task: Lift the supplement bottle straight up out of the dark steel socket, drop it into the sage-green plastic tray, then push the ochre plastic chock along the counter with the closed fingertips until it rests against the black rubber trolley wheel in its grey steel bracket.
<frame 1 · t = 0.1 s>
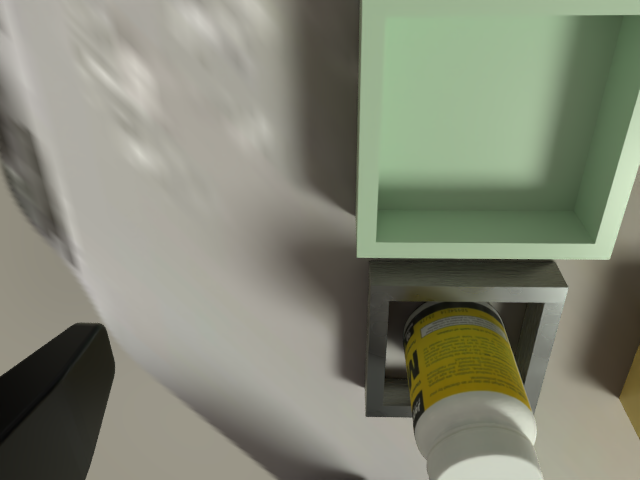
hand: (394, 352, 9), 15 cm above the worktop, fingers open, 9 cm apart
pin socket: (451, 330, 28), on the worktop
supplement bottle: (451, 327, 28), resting in pin socket
tray: (483, 109, 22), on the worktop
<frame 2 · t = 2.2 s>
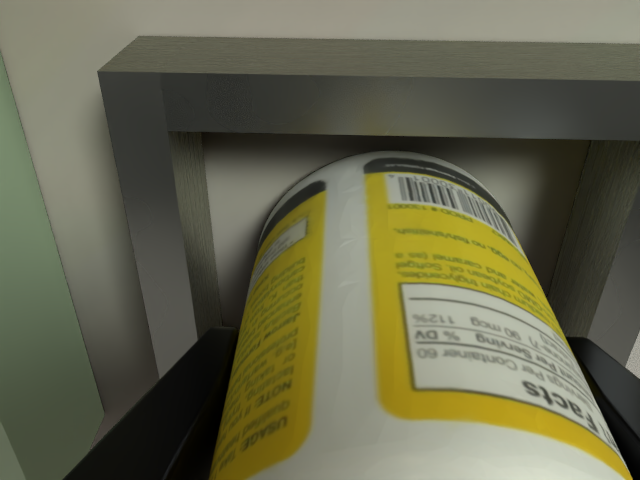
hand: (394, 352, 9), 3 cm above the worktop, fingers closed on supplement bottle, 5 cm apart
pin socket: (384, 258, 11), on the worktop
supplement bottle: (383, 252, 11), resting in pin socket, touching gripper
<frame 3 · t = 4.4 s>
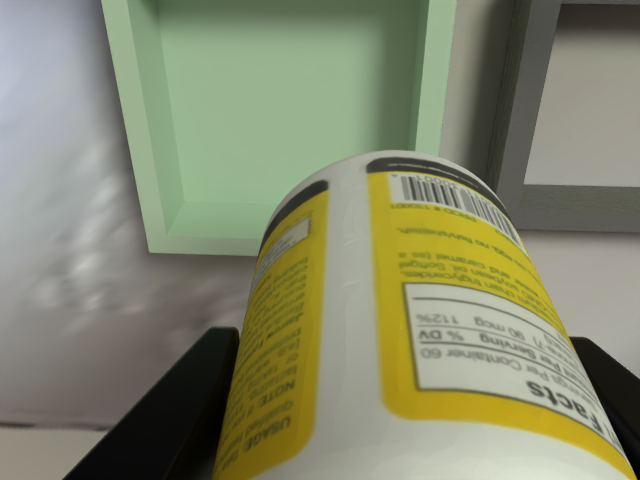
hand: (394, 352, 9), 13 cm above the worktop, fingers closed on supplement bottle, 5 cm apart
pin socket: (623, 98, 19), on the worktop
supplement bottle: (386, 252, 11), point 10 cm above the worktop, touching gripper
tray: (290, 92, 20), on the worktop
when the fingers open (4 cm above the worktop, at t = 6.4 s): supplement bottle drops 1 cm, resting on tray.
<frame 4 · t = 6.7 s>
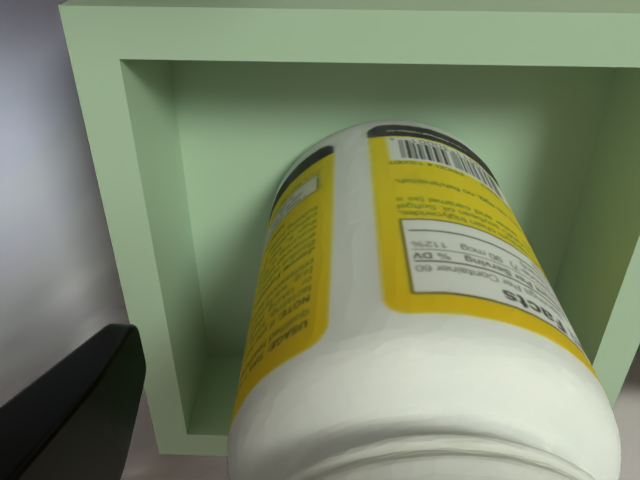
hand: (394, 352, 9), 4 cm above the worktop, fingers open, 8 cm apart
supplement bottle: (385, 216, 12), resting on tray
tray: (377, 207, 13), on the worktop
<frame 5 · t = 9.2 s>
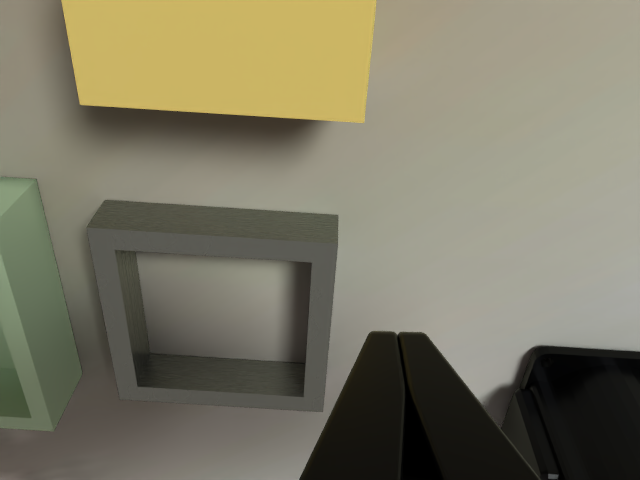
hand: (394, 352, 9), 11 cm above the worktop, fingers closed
pin socket: (225, 298, 22), on the worktop
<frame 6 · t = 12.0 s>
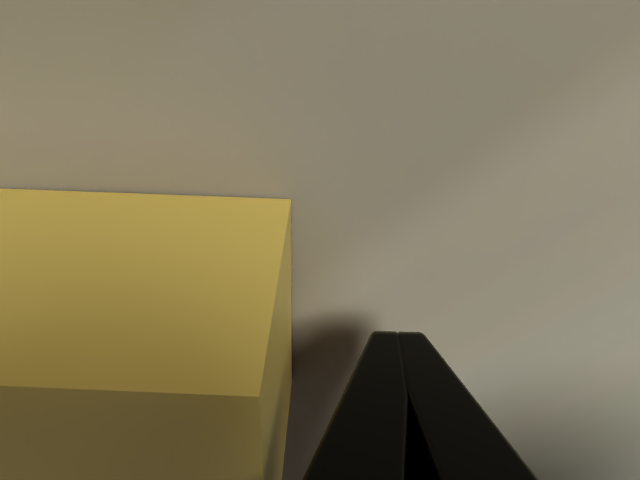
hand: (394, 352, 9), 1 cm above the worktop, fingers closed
chock: (91, 292, 10), on the worktop, touching gripper
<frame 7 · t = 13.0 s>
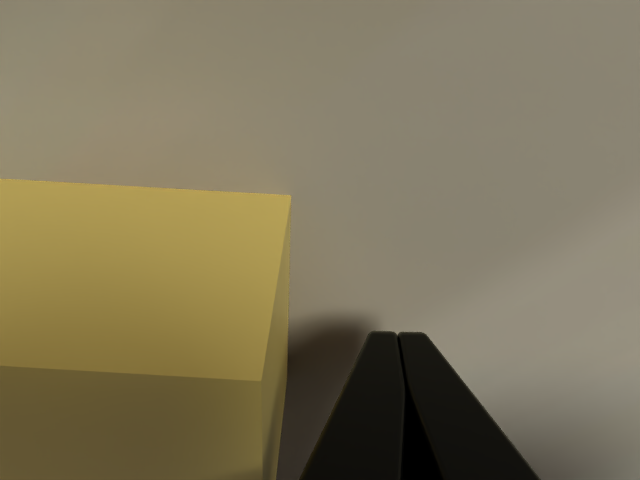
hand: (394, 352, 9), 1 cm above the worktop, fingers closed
chock: (90, 279, 10), on the worktop
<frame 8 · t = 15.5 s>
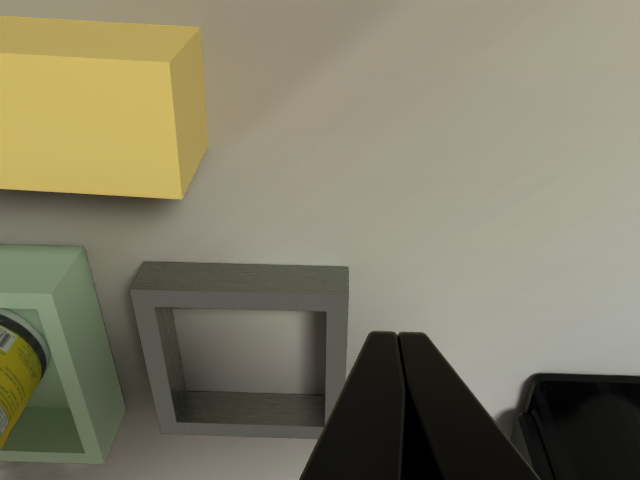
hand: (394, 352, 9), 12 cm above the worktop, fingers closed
pin socket: (251, 340, 25), on the worktop
chock: (100, 82, 19), on the worktop
tray: (0, 333, 25), on the worktop
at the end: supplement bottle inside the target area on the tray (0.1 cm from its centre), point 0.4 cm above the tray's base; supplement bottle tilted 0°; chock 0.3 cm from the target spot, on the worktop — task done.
